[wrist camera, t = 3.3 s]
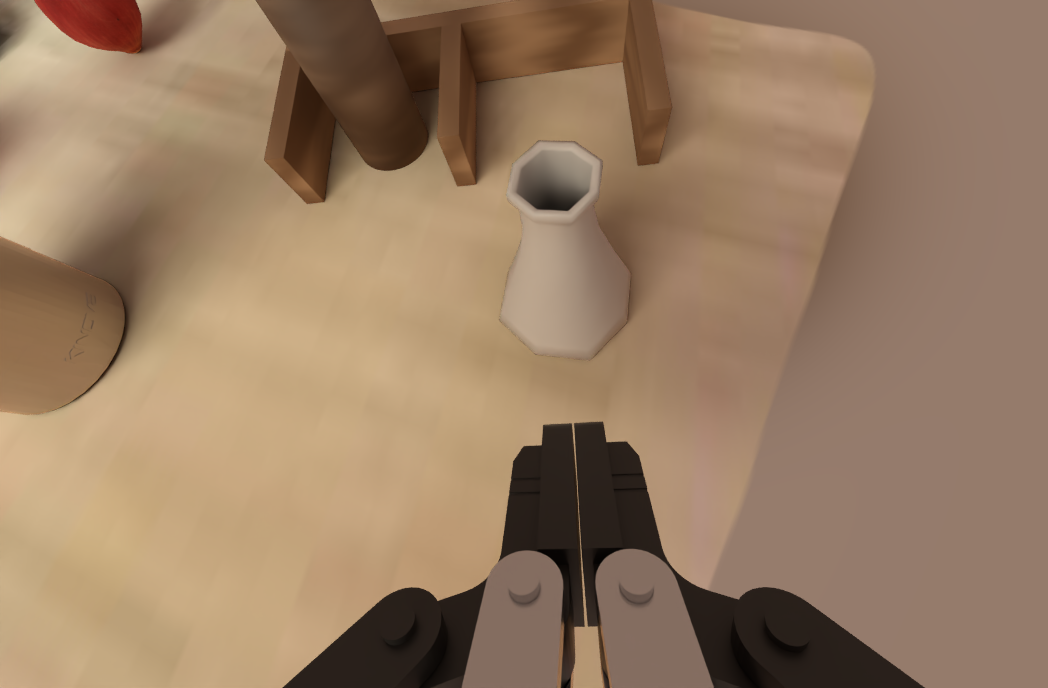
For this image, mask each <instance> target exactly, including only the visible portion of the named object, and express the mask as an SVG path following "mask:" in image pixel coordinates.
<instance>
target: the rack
mask: <svg viewBox="0 0 1048 688" xmlns="http://www.w3.org/2000/svg"><path fill="white" fill-rule="evenodd" d="M381 24H382V27H383V29H384V31H385V34H386V36H387V38H388V41H389V43H390V45H391V47H392V50H393V52H394V54H395V57H396V59H397V61H398V63H399V66H400V68H401V70H402V73H403V75H404V77H405V79H406V82H407V84H408V86H409V89H410V91H411V92H414V91H421V90H428V89H435V88H439V104H438V130H437V139H438V141H439V143H440V146H441V148H442V150H443V153H444V155H445V158H446V160H447V162H448V165H449V167H450V170H451V172H452V174H453V177H454V179H455V182H456V184H457V186H465V185H474V184H476V83H477V82H484V81H491V80H498V79H505V78H512V77H519V76H526V75H533V74H540V73H547V72H554V71H561V70H568V69H575V68H582V67H589V66H596V65H603V64H610V63H617V62H623V67H624V74H625V81H626V88H627V94H628V101H629V108H630V115H631V122H632V129H633V135H634V142H635V149H636V156H637V163H638V165H646V164H655V163H658V162H659V158H660V154H661V150H662V146H663V142H664V138H665V134H666V130H667V126H668V122H669V117H670V113H671V109H672V105H671V99H670V94H669V89H668V83H667V78H666V73H665V67H664V62H663V57H662V51H661V46H660V41H659V35H658V30H657V25H656V19H655V14H654V9H653V3H652V0H516V1H510V2H504V3H498V4H492V5H485V6H479V7H473V8H467V9H461V10H455V11H449V12H443V13H436V14H430V15H424V16H418V17H412V18H406V19H400V20H393V21H387V22H381ZM334 125H335V117H334V115H333V114H332V112H331V111H330V109H329V108H328V106H327V105H326V104H325V102H324V101H323V99H322V98H321V96H320V95H319V93H318V92H317V90H316V89H315V87H314V86H313V84H312V83H311V81H310V80H309V78H308V77H307V75H306V74H305V72H304V71H303V70H302V68H301V67H300V65H299V64H298V62H297V61H296V59H295V58H294V56H293V55H292V53H291V52H290V50H289V49H288V47H287V46H286V51H285V56H284V61H283V66H282V71H281V76H280V81H279V86H278V91H277V97H276V102H275V107H274V112H273V117H272V122H271V127H270V132H269V137H268V142H267V147H266V152H265V158H264V161H265V162H266V163H267V164H268V165H269V166H270V167H271V168H272V169H273V170H274V171H275V172H276V173H277V174H278V175H279V176H280V177H281V178H282V179H283V180H284V181H285V182H286V183H287V184H288V185H289V186H290V187H291V188H292V189H293V190H294V191H295V192H296V193H297V194H298V195H299V196H300V197H301V198H302V199H303V200H304V201H305V202H306V203H307V204H310V203H318V202H324V199H325V192H326V184H327V177H328V170H329V162H330V155H331V148H332V140H333V133H334Z"/></svg>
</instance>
